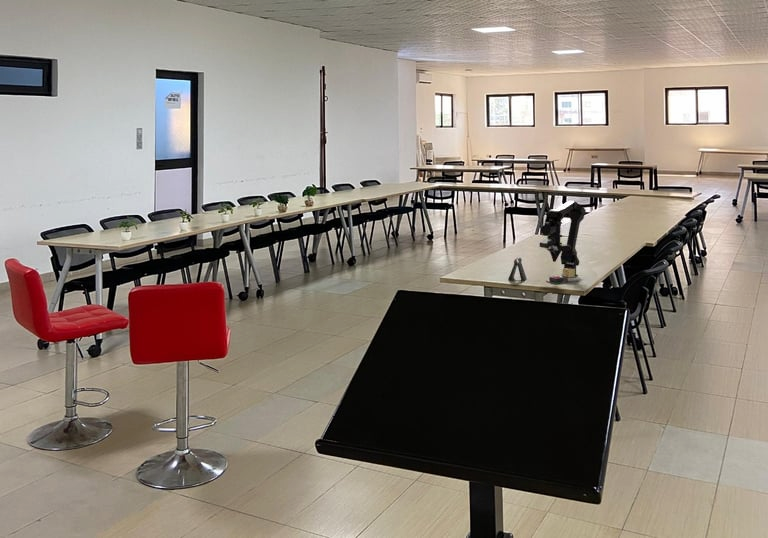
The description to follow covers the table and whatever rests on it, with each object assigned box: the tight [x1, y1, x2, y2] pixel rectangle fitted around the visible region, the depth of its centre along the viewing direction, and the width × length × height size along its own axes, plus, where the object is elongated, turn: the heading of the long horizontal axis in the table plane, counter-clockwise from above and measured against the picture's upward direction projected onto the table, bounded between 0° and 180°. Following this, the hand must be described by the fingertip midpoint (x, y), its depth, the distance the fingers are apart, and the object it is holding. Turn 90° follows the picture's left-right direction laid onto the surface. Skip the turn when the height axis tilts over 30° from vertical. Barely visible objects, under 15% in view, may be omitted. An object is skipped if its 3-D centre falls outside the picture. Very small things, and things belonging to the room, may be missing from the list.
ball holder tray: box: [546, 275, 580, 285], centre depth 409 cm, size 16×8×3 cm, turn 117°
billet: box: [562, 267, 575, 278], centre depth 410 cm, size 4×4×6 cm
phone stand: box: [507, 257, 527, 282], centre depth 414 cm, size 9×6×12 cm, turn 68°
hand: (554, 261), depth 409 cm, fingers closed
